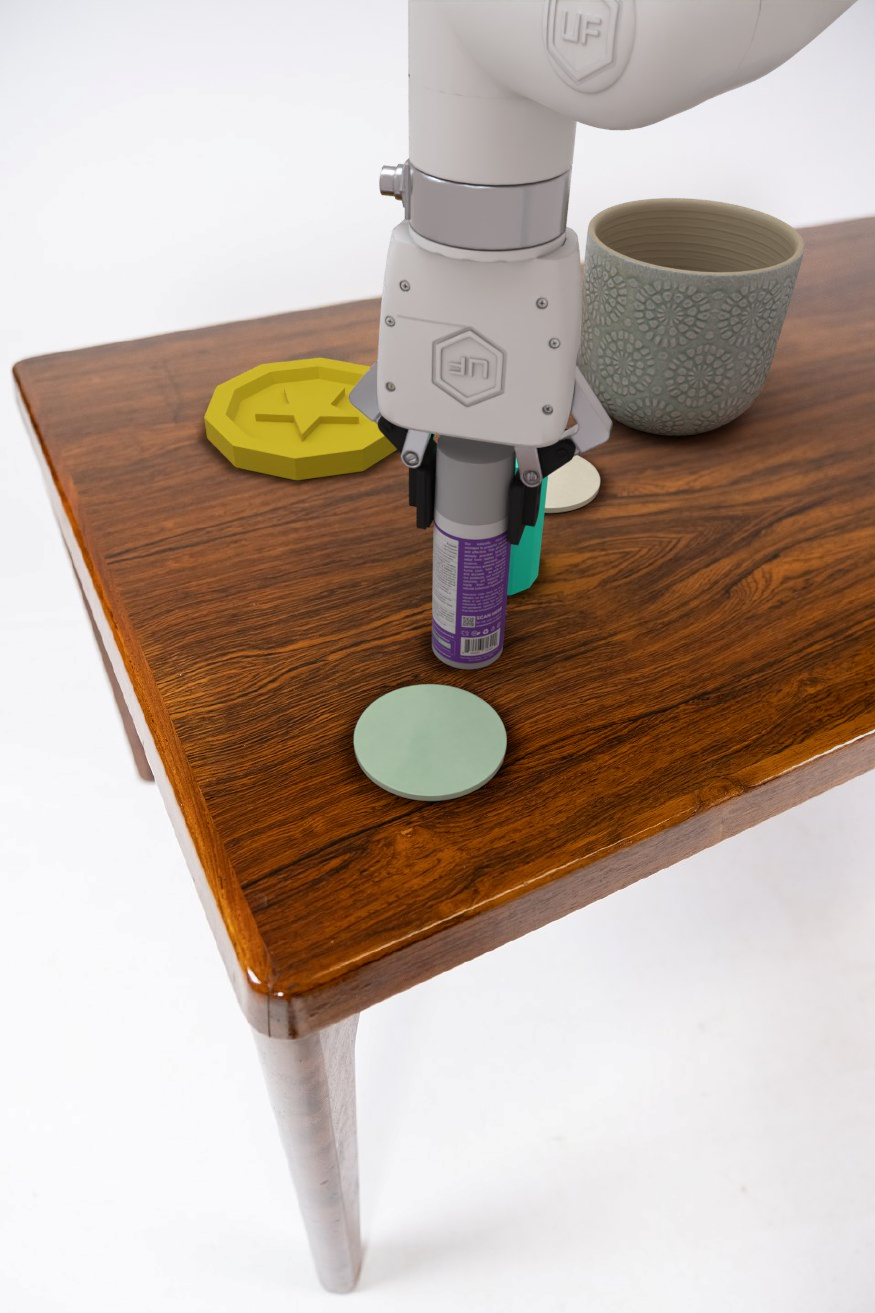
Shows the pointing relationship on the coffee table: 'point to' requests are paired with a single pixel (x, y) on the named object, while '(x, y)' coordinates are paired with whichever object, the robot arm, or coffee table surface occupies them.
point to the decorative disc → (295, 420)
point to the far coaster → (571, 486)
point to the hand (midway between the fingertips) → (473, 521)
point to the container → (470, 550)
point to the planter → (683, 310)
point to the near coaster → (430, 742)
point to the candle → (527, 551)
